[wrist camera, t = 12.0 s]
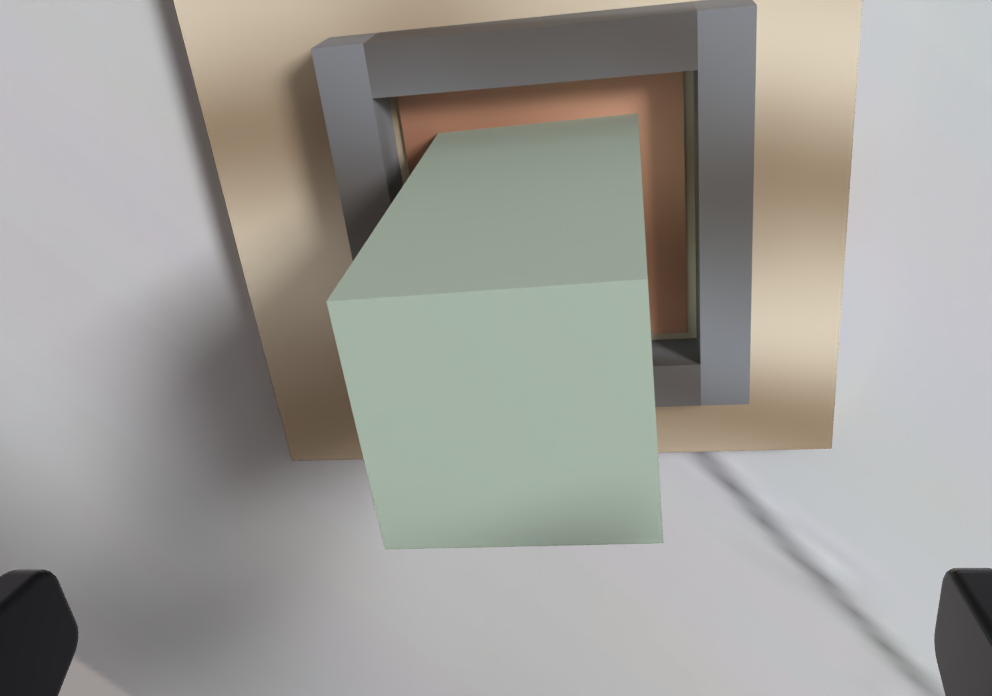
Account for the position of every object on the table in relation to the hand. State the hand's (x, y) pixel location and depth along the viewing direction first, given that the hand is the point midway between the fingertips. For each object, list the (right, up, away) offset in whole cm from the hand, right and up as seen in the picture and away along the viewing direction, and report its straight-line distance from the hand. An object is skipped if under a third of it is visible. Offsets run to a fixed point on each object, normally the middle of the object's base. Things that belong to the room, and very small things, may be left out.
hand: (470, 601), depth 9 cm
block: (+1, +5, +10) cm, 11 cm away
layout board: (+1, +7, +10) cm, 12 cm away
